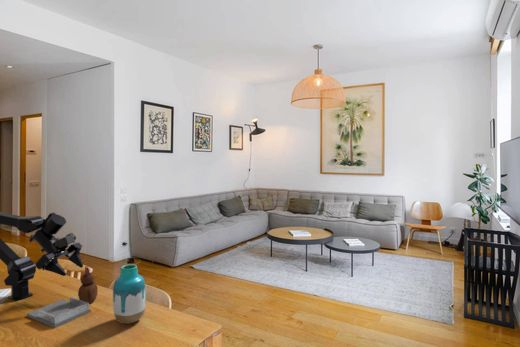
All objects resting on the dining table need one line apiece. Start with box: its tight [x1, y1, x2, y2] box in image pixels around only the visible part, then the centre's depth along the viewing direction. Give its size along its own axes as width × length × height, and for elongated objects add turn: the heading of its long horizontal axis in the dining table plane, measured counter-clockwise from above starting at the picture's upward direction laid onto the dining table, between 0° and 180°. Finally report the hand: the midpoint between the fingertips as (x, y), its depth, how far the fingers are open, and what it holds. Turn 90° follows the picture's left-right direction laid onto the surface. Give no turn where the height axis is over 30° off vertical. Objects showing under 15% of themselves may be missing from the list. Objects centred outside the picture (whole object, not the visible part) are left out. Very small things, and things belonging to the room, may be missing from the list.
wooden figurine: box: [77, 266, 99, 305], centre depth 129 cm, size 7×6×15 cm
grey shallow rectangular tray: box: [26, 296, 92, 329], centre depth 120 cm, size 17×13×4 cm
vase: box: [112, 263, 147, 324], centre depth 115 cm, size 11×11×19 cm
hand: (74, 270), depth 129 cm, fingers open, 9 cm apart
